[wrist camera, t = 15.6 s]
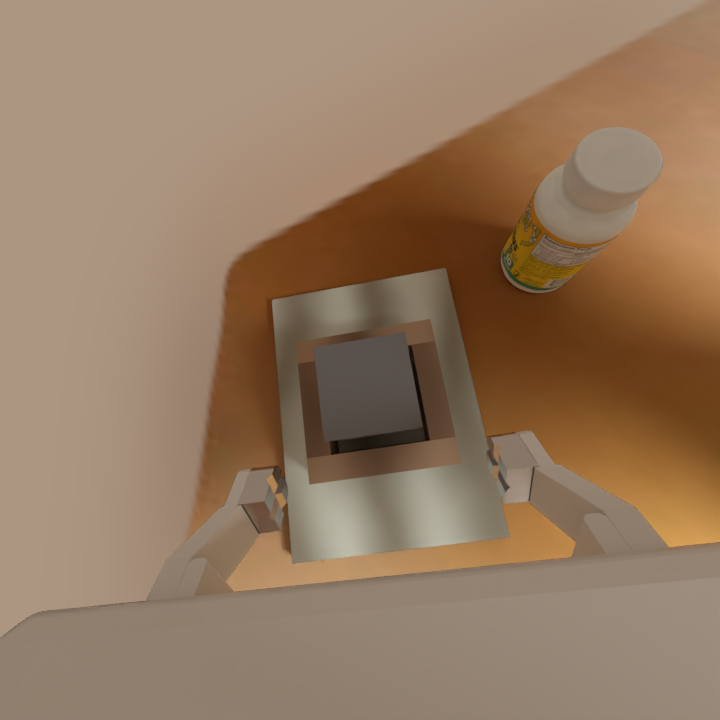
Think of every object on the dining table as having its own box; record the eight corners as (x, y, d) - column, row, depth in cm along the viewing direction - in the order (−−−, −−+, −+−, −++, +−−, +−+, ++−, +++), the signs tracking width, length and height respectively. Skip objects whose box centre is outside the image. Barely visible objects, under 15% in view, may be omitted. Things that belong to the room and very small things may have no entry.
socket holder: (443, 274, 25) (452, 244, 21) (504, 532, 20) (530, 555, 16) (276, 304, 26) (255, 282, 22) (296, 557, 21) (275, 584, 17)
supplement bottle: (555, 306, 23) (660, 221, 14) (487, 279, 25) (543, 184, 15) (581, 248, 24) (695, 132, 15) (514, 224, 25) (582, 103, 16)
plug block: (401, 367, 23) (405, 332, 15) (413, 430, 22) (422, 427, 14) (341, 377, 23) (313, 347, 15) (349, 439, 22) (324, 441, 14)
